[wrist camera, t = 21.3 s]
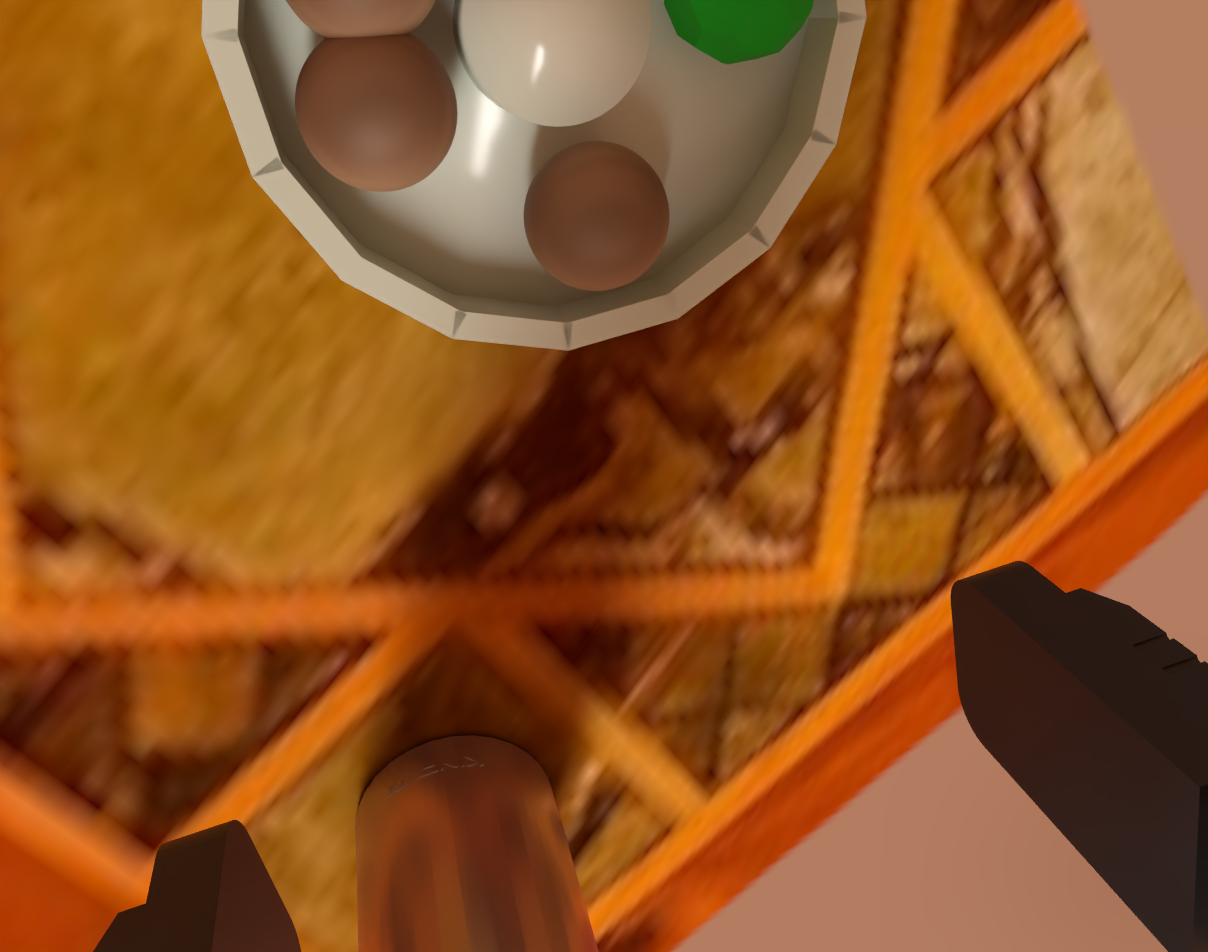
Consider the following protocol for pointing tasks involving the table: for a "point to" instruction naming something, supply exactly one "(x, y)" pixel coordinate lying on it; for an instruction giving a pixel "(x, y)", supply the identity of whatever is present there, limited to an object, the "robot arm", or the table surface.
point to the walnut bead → (596, 215)
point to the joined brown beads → (373, 93)
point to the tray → (549, 154)
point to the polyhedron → (738, 26)
